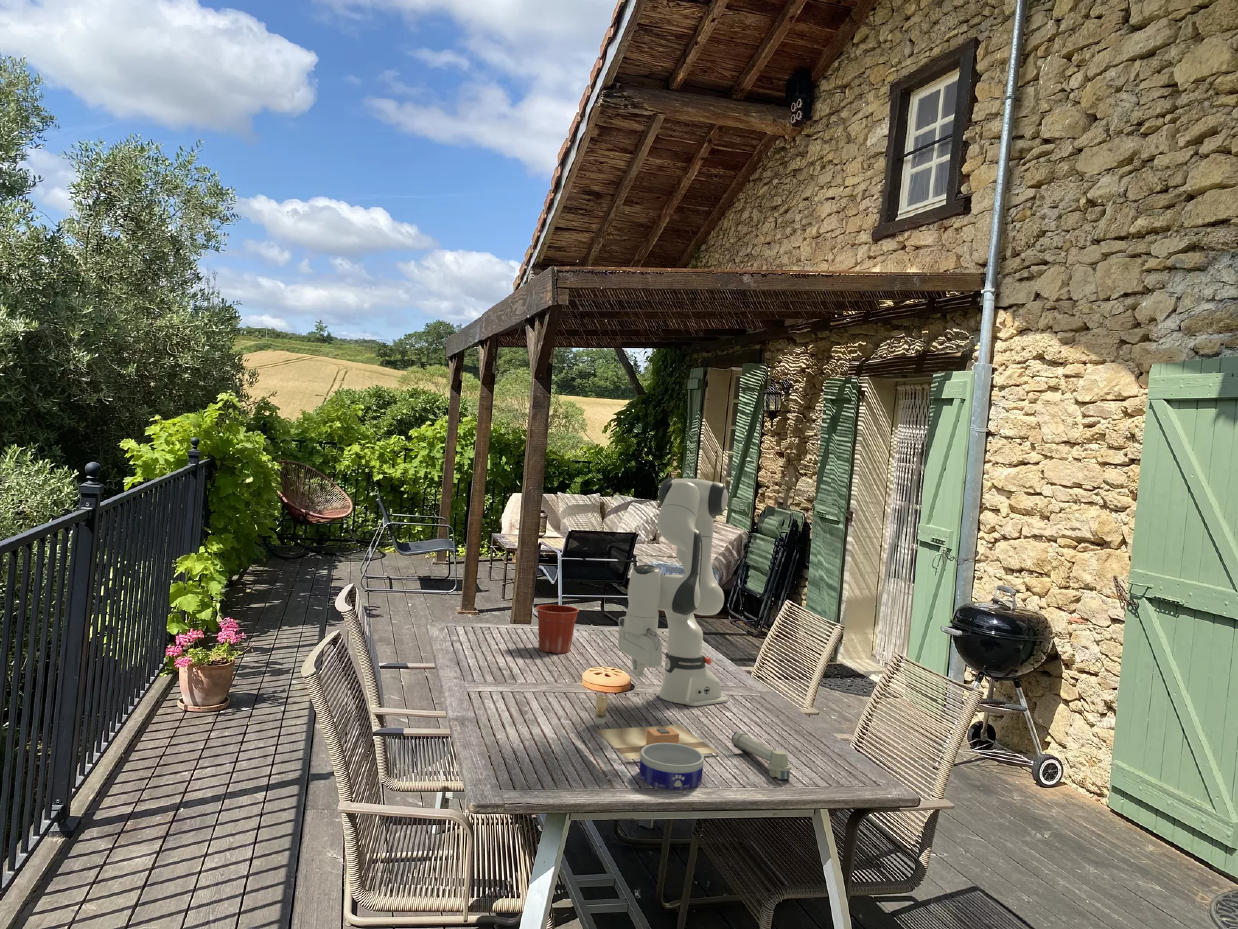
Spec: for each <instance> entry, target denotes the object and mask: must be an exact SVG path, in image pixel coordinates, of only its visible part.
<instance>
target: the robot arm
mask: <svg viewBox="0 0 1238 929" xmlns="http://www.w3.org/2000/svg"><path fill="white" fill-rule="evenodd" d="M728 493H729V492H728V489H727V487H726V486H725V484H724V483H721V482H718V481H710V480H706V479H702V478H701V479H699V478H677V477H669V478H665V479H664V480H663V481H662V482H661V483H660V486H659V489H658V502H659V505H660V506H661V508H660V511H659V514H658V518H657V530H658V532H659V534H660V535H661V537H662V538H663V539H665V541H667V542H668V543H670V545H672V546H675V547H676V558H677V560H678V562H680V564H681V565H682V568H683V571H684V575H683V574H682V575H681V574H664V575H662V574H661V570H660V568H659V567H658V566H656V565H653V564H638V565H636V566H634V567H633V568H632V570H631V573H630V576H629V577H630V578H629V582H628V588H627V589H628V591H627V601H628V605H627V609H626V614H625V616H621V617H619V618H618V622H617V623H618V626H619V628H618V637H617V638H618V639H617V640H618V649H619V651H621V652H623V653H624V654H626V656H627V655H628V656H629V657H631V658H630V659H631V665H632V674H633V675H634V676H636V677H638V678H642V677H644V670H645V669H646V667H648V668H649V669H650V668H651V669H652V668H660V667H661V665H662V662H663V661H662V660H663V643H662V640H661V638H660V636H659V634H658V629H659V628H658V627H659V617H660V616H659V615H660V614H659V611H664V613H665V618H666V621H667V628H668V632H667V633H668V634H667V635H668V638H667V651H666V652H665V659H664V675H663V676H664V677H663V679H662V680H663V681H662V685H661V687H660V690H659V693H658V697H660V699H662V700H664V701H667V702H671V703H676V704H681V705H685V706H686V705H687V706H690V707H699V706H706V705H714V704H723V703H728V702H729V698H728V696H727V695H726V694H725V693H723V692H722V684H721V680H720V679H719V678H718V677H717V676H716V675H715V674H714V673H713V672H712V671H711V670H710V669H709V668H707V667H706V664H707V665H710V666H711V665H712V663H713V659H712V658H709V656H706V657H705V656H704V655H703V653H702V652H703V640H704V638H703V637H704V632H703V629H702V628H701V626H700V625H699V624H698V622H697V620H696V618H695V615H699V616H714V615H717V614H718V613H720V611H721V610H722V608H723V606H724V602H725V594H724V591H723V589H722V587H720V585H719V584H718V582H717V579H716V578H715V575H714V571H713V566H712V547H713V537H714V519H716V518H717V516H720V515H722V513H724V511H725V510H726V508H727V506H728V503H729V494H728ZM694 614H695V615H694Z"/></svg>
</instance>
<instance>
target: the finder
mask: <svg viewBox="0 0 1238 929" xmlns="http://www.w3.org/2000/svg"><path fill="white" fill-rule="evenodd" d="M655 743H675V744H679V734H678V733H677V732H676V731H675V730H673V729H672V728H658V729H647V736H646V745H650V744H655Z"/></svg>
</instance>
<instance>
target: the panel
mask: <svg viewBox="0 0 1238 929" xmlns="http://www.w3.org/2000/svg"><path fill="white" fill-rule="evenodd" d="M658 728H672V729H673V730H675V731H676V732H677V733H678V734H679V744H681V745H686V746H689V747H692V748H694V749H696V750H698V751H700V752H701V753H702V754H703V756H704V759H708V758H709V759H710V757H711V758H718V757H719V755H718V753H719V752H718V751H717V750H716V749H714V748H713V747H711V746H710V745H709V744H707V743H706V742H704V741H703V740H702V739H700V738H699V737H697V736H696V735H695V734H693V733H691V731H689V730H688V729H686V728H685V727H684V726H682V725H680V724H675V725H674V724H672V725H671V724H669V725H657V726H656V725H655V726H639V727H625V728H624V727H623V728H606V729H595V732H596V733H597V734H598V735H600V736H601V738H603V739H604V740H605V741H606V742H607V743H608V744H610V746H612V747H613V748H614V749H615V750H616V751H617V752H619V753H620V754H621V755H622V756H623V758H625V759H626V760H627V761H626V762H624V763H625V764H626V765H632V764H633V765H634V764H640V754H641V750H642V748H643V747H645V746H647V745H646V736H647V729H658ZM704 754H712V755H704ZM628 760H637V761H628Z"/></svg>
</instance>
